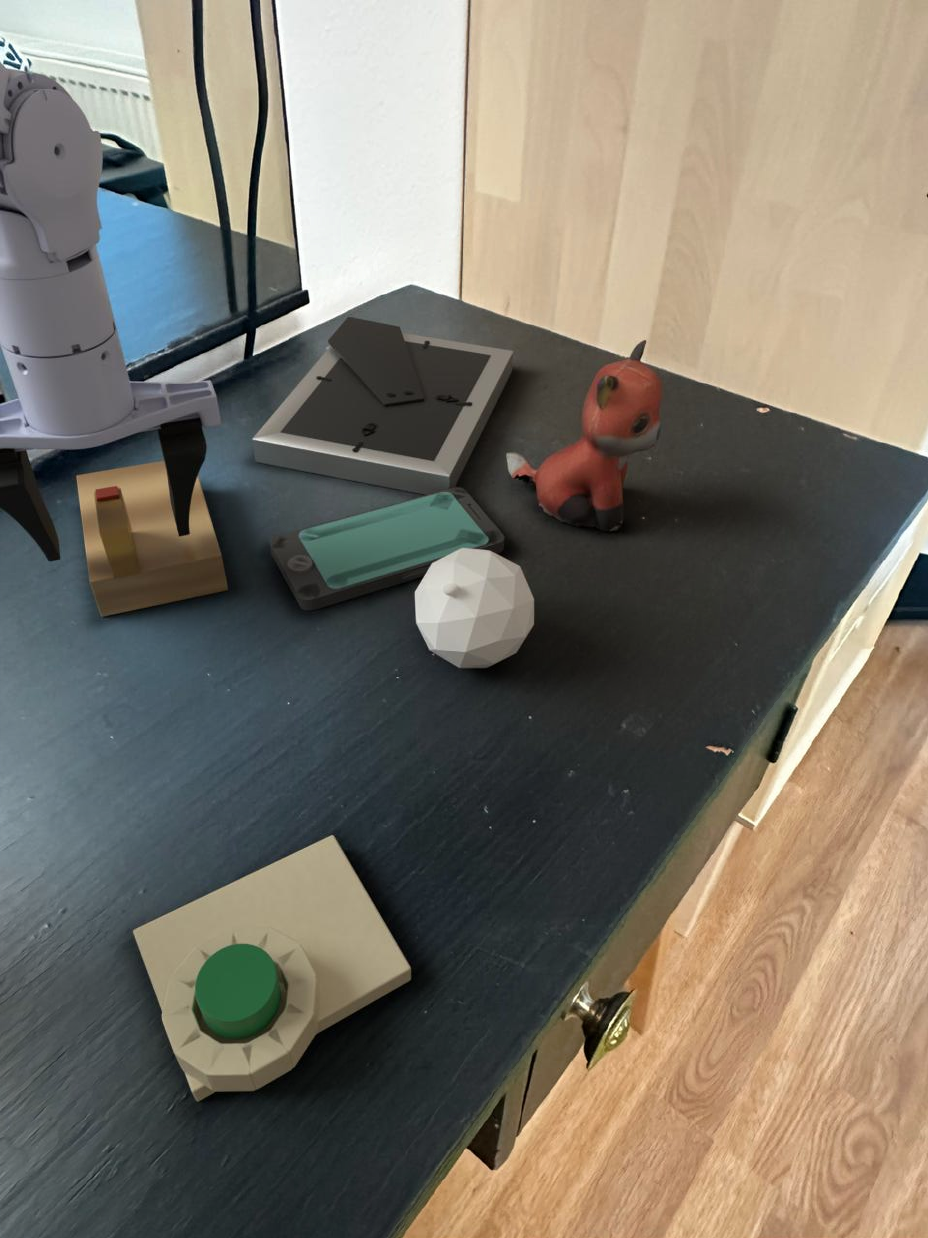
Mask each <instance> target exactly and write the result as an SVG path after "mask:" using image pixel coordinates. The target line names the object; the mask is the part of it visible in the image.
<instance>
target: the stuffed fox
mask: <svg viewBox="0 0 928 1238" xmlns="http://www.w3.org/2000/svg"><path fill="white" fill-rule="evenodd" d="M646 345H647V340H646V339H643V340H642V341H640V342H639V343H637V344H636V346H635V347H634V348H633V350H632V351H631V353H630V355H629V357H628V358H626V359H623V360H618V361H614V362H611V363H607V364H606V365H603V366H602V368H600V369H599V370H598V372H597V373H596V375H595V377H594V379H592V380H593V381H592V383H591V385H590V387H589V389H588V392H587V394H586V397H585V400H584V403H583V406H582V411H581V430H582V432H583V436H582V437H580V438H579V439H578V440H577V441H576V442H573V443H571V444H569V445H567V446H565V447H563V448H561V449H560V450H557V451H556V452H554V453H552V454H551V455H550V456H548V457H547V458H546V459H545V460H544V461H543V462H542V463H541V464H540V465H539V467H538V468H534V467H533V466H532V465H531V463H530V462H529V460H528V459H527V458H526V457H525V456H523V455H522V454H521V453H519V452H517V451H512V452H511V451H510V452H506V462H507V470H508V473H509V475H510V477H511V478H512V479H513V480H517V479H518V481H522V482H524V483H525V484H529V485H532V486H536V487H535V488H536V499H537V500H538V506H539V507H541V508H542V509H543V512H544V513H546V514H548V515H549V516H550V517H554V518H555V519H557V520H558V521H560V522H561V523H567V524H569V525H571V526H574V527H580V526H581V527H589V528H592V527H596V529H599V530H601V531H603V532H612V531H618V530H620V529H622V526H623V522H624V512H623V511H624V501H623V485H624V483H625V480H626V476H627V472H628V470H629V469H628V467H629V464H628V462H629V461H628V460H629V458H630V456H631V455H632V454H634V453H639V452H645V451H648V450H650V449H652V448H653V447H655V446H656V444H657V443H658V440H659V437H660V433H661V425H662V424H661V417H660V406H661V402H662V395H663V388H662V381H661V379H660V377H659V375H658V374H657V372H655V370H653V368H651V367H650V366H648V365H646V364H645V363H643V362H642V360H641V359H642V358H643V355H644V352H645V349H646Z"/></svg>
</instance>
